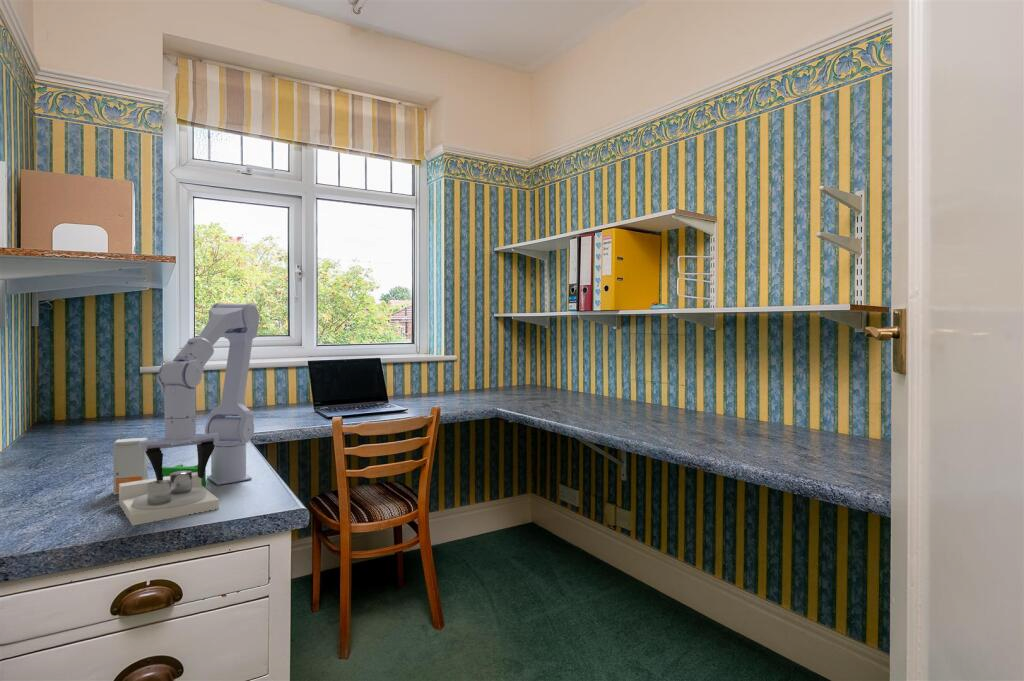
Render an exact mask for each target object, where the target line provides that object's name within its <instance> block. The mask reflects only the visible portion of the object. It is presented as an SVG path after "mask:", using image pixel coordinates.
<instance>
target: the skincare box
mask: <svg viewBox="0 0 1024 681" xmlns="http://www.w3.org/2000/svg"><path fill="white" fill-rule="evenodd" d="M145 440H149V438H148V437H132V438H120V439H118V438H117V439H116V440H115V441H113V458H112V459H113V464H112V466H113V470H112V471H113V478H112V479H113V482H112V483H113V484H112V486H113V490H112V493H113V494H112V495H114V496H115V495H119V484H120V483H127V482H134V481H140V480H147V479H148V474H149V473H148V472H149V469H148V468H149V467H148V462H149V458H148V456H147V454H146V453H145V451H144V452H141V451H140V449H139V441H145Z"/></svg>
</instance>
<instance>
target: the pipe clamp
mask: <svg viewBox="0 0 1024 681" xmlns="http://www.w3.org/2000/svg"><path fill="white" fill-rule="evenodd" d="M206 468H207V467H206ZM206 468H205V472H204V477H203V478H201V485H202V486H203V487H204V488H205V487H206V485H207V483H206V480H207V479H206V478H207V476H206ZM178 471H192V473H194V472H198V464H196V465H191V466H184V464H178V465H175V466H162V473H163V477H167V476H170V474H171V473H173V472H178Z"/></svg>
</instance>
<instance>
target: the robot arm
mask: <svg viewBox="0 0 1024 681" xmlns="http://www.w3.org/2000/svg"><path fill="white" fill-rule="evenodd" d="M207 321H208V322H207V323H206V324H205V326H204V328H203V329H202V331H200V334H199V335H198V337H192V338H189V339H188V340H187V341H186V343H185V345H184V346H183V347H182V348H181V350H180V351H178V353H177V355H176V356H175V357H174V358H173V359H172V360H167V361H166V362H164V363H163V364H162V365H161V366H160V368H159V370H158V374H157V375H156V377H157V378H156V379H157V382H158V384H159V386H160V389H161V390H160V391H161V395H162V396H163V397H164V400H163V401H164V402H163V403H164V436H163V437H159V438H152V439H148V440H145V441H139V449H140V451H141V452H144V451H145V453H146V454H147V456H148V461H150V463H151V466H152V468H153V470H154V474H155V478H156V479H157V481H158V480H163V473H162V467H163V460H164V459H163V458H164V454H163V452H162V450H163V449H170V448H178V447H186V446H187V447H188V446H196V451H197V452H196V453H197V465H198V477H199V478H203V477H204V472H205V468H207V465H208V462H209V460H210V464H211V465H210V466H211V467H210V468H211V469H210V470H211V472H210V473H211V474H208V475H207V476H206V478H207V479H209V481H212V482H213V483H214V484H215V485H217V486H218V485H226V484H231V483H232V484H233V483H236V482H237V483H238V482H242V481H243V482H244V481H249V480H253V477H252V476H250V475H249V474H247V443H249V441H250V440H251V439H252V437H253V436H254V432H255V424H254V415H255V414H254V412H253V411H252V410H250V409H249V408H248V407H247V406H246V405H245V397H246V391H247V390H246V389H247V384H248V378H249V376H248V375H249V369H250V362H251V355H252V354H251V353H252V347H253V346H252V345H253V340H254V339H255V338H257V336H258V330H259V324H260V313H259V311H258V308H257V306H256V305H255V304H254V303H253V302H247V303H242V302H241V303H240V302H239V303H238V302H237V303H235V302H234V303H231V302H229V303H228V302H227V303H226V302H225V303H223V302H222V303H221V302H215V303H213V304H212V306H211V308H210V309H209V310H208V320H207ZM220 338H224V339H227V340H228V342H229V346H228V354H227V360H226V365H225V366H226V368H225V374H224V382H223V389H222V393H221V402H220V404H218V405H217V406H216V407H215V408H213V409H211V411H210V413H209V417H208V420H207V421H206V424H205V427H204V433H196V432H197V430H196V429H197V428H196V426H197V425H196V424H197V423H196V422H197V421H196V418H197V417H196V416H197V415H196V413H197V412H196V411H197V410H196V409H197V408H196V387H197V386H198V385H199V384H201V382H202V377H203V372H204V370H205V369H204V368H205V365H206V364H207V363H208V361H209V360H210V359H211V357H212V356H213V355H214V352H215V351H214V345H215V344H216V343H217V342H218V341H219V340H220Z"/></svg>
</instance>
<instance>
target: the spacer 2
mask: <svg viewBox="0 0 1024 681" xmlns="http://www.w3.org/2000/svg"><path fill="white" fill-rule="evenodd" d="M170 481H171V494H184V493H188V492H191V491H192V471H178V472H173V473H171V474H170Z"/></svg>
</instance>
